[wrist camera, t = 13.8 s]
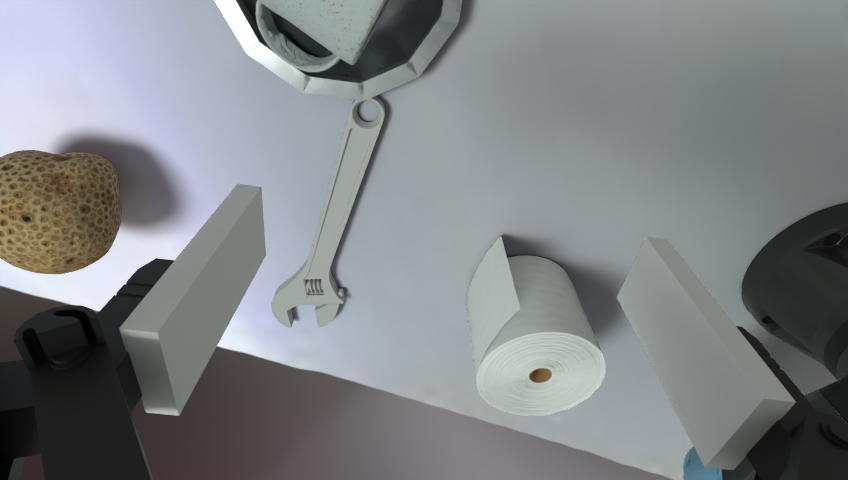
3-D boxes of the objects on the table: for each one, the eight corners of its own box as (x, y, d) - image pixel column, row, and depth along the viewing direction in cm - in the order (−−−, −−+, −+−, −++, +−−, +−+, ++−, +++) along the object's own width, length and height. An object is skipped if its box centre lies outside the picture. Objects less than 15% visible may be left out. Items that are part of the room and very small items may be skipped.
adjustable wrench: (356, 84, 34) (354, 91, 33) (433, 119, 36) (433, 127, 34) (269, 307, 47) (264, 319, 45) (329, 326, 48) (326, 338, 47)
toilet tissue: (521, 347, 50) (541, 430, 41) (433, 299, 46) (437, 381, 37) (594, 287, 45) (634, 367, 37) (504, 227, 41) (526, 303, 33)
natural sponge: (38, 205, 39) (-63, 278, 31) (26, 110, 34) (-98, 167, 26) (149, 235, 41) (81, 311, 33) (152, 148, 36) (73, 212, 28)
